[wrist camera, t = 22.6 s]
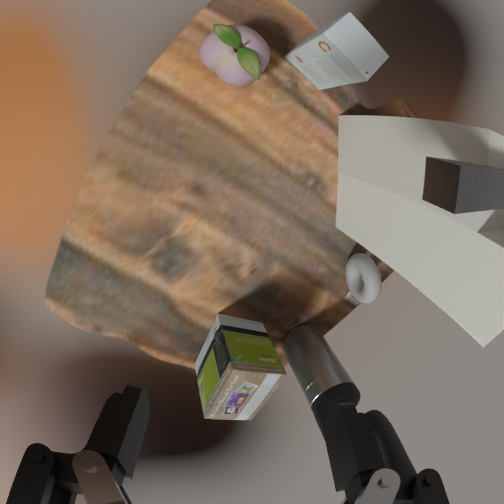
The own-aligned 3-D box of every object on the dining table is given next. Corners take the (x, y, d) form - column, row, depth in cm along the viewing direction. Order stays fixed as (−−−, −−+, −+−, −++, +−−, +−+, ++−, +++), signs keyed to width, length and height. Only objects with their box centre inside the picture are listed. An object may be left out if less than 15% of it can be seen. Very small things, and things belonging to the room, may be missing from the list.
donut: (354, 284, 55) (381, 310, 46) (341, 288, 55) (366, 316, 46) (357, 242, 51) (388, 265, 42) (342, 246, 50) (372, 271, 41)
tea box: (235, 369, 58) (251, 422, 45) (193, 363, 54) (201, 420, 41) (264, 320, 53) (289, 375, 40) (217, 310, 49) (231, 370, 36)
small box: (340, 69, 35) (391, 57, 24) (319, 91, 37) (367, 82, 25) (306, 35, 32) (350, 10, 20) (282, 56, 33) (322, 33, 22)
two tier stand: (335, 226, 48) (483, 347, 18) (338, 115, 39) (542, 144, 9) (391, 219, 51) (524, 307, 21) (397, 123, 42) (562, 162, 12)
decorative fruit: (270, 67, 33) (296, 50, 25) (231, 100, 35) (247, 90, 26) (227, 27, 29) (241, 0, 20) (186, 60, 30) (188, 38, 22)
